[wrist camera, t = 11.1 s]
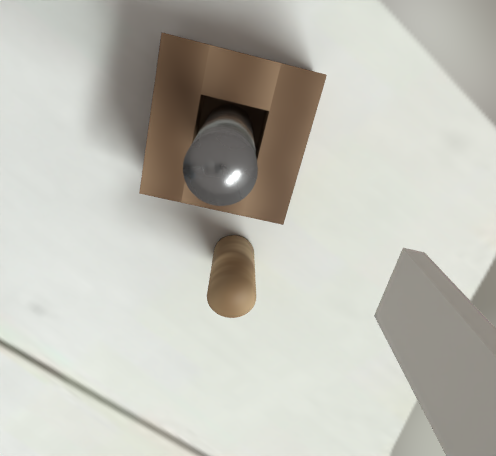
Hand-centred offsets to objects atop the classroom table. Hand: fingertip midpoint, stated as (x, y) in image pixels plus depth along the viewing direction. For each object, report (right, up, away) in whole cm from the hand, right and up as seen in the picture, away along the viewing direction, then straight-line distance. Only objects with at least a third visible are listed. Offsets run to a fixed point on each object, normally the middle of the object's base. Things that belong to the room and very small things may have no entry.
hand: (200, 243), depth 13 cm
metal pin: (0, +9, +21) cm, 23 cm away
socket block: (0, +9, +22) cm, 24 cm away
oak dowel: (0, -2, +27) cm, 27 cm away
